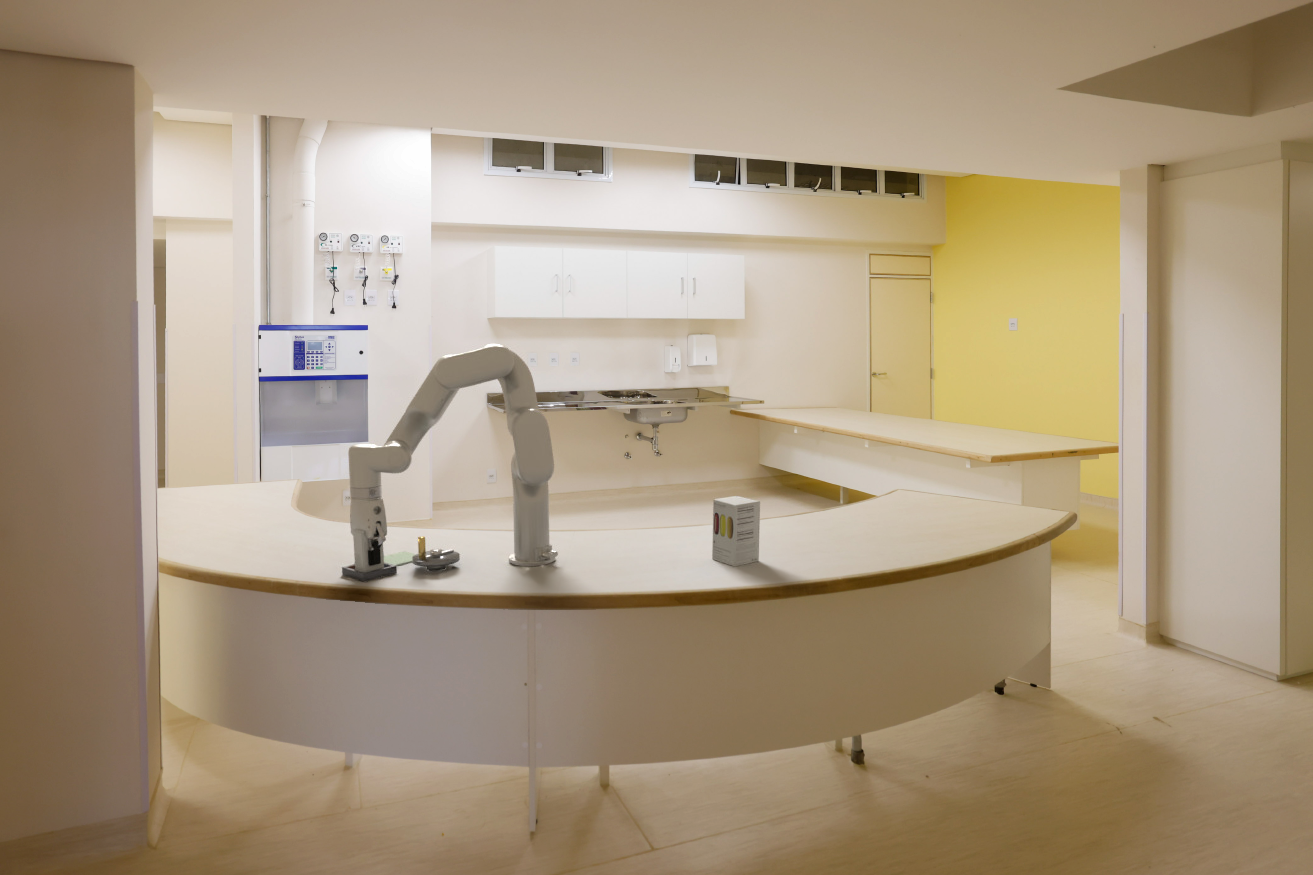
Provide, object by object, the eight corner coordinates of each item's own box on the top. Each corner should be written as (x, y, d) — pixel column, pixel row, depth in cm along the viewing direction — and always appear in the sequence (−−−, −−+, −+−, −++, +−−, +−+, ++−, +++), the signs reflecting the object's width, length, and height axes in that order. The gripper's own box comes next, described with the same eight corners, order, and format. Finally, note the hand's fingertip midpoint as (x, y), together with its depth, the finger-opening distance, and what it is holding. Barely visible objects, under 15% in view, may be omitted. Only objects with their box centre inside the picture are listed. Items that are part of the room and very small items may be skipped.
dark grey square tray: (396, 573, 213) (396, 565, 212) (363, 581, 205) (362, 574, 205) (375, 566, 219) (375, 559, 218) (342, 574, 211) (342, 567, 211)
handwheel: (438, 552, 225) (438, 526, 224) (469, 558, 218) (468, 532, 217) (402, 561, 215) (401, 535, 214) (433, 569, 209) (432, 541, 208)
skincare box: (375, 569, 216) (373, 525, 214) (384, 572, 213) (383, 527, 211) (354, 575, 211) (352, 529, 209) (363, 578, 208) (361, 532, 207)
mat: (426, 558, 226) (426, 557, 226) (394, 566, 219) (394, 565, 219) (404, 552, 233) (404, 551, 233) (373, 560, 225) (373, 558, 225)
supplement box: (711, 559, 226) (711, 498, 224) (735, 553, 231) (736, 494, 229) (734, 567, 218) (735, 504, 216) (760, 561, 224) (761, 500, 222)
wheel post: (450, 567, 217) (449, 560, 217) (434, 572, 214) (434, 564, 213) (438, 564, 221) (438, 557, 220) (422, 568, 217) (422, 561, 216)
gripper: (398, 494, 207) (401, 565, 209) (361, 486, 217) (364, 554, 220) (371, 499, 201) (374, 572, 203) (334, 491, 212) (337, 560, 214)
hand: (369, 562), depth 211 cm, fingers closed on skincare box, 4 cm apart
